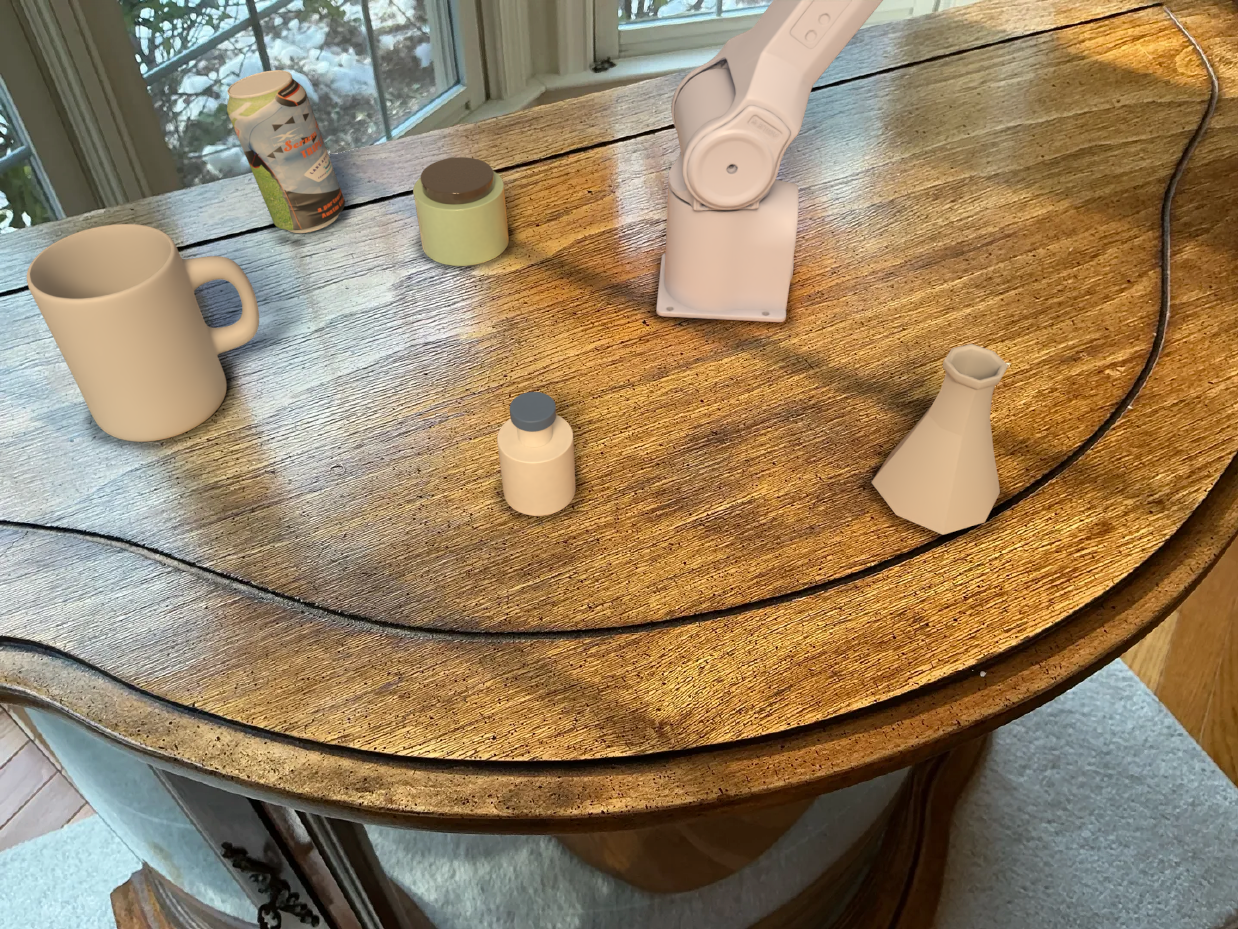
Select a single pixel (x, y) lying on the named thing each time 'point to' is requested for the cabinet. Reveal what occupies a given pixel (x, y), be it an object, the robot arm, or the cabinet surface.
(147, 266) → the mug
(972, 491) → the flask
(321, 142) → the beverage can
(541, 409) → the cream bottle
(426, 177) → the sage jar
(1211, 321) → the cabinet surface
